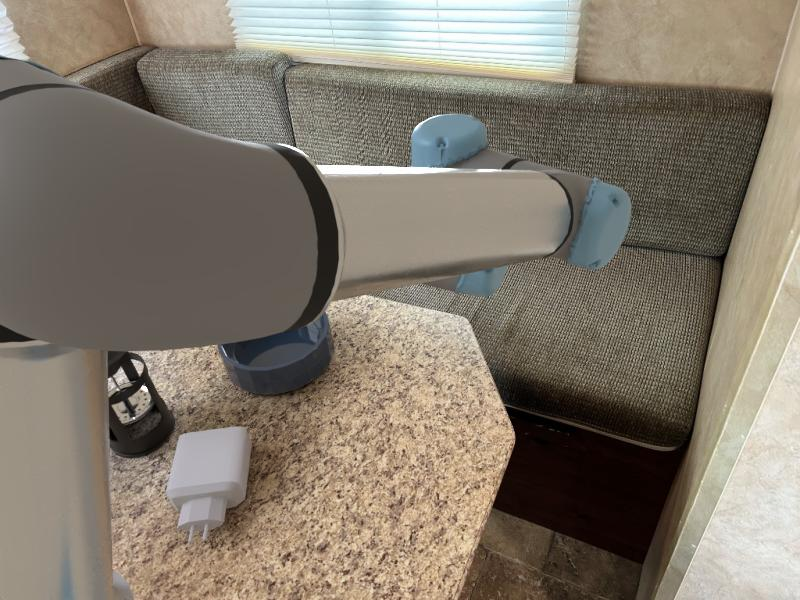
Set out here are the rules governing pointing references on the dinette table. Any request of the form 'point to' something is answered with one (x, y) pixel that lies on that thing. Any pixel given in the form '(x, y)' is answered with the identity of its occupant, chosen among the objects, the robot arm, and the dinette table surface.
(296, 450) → the dinette table surface
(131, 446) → the french press
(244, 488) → the charger
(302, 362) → the bowl
